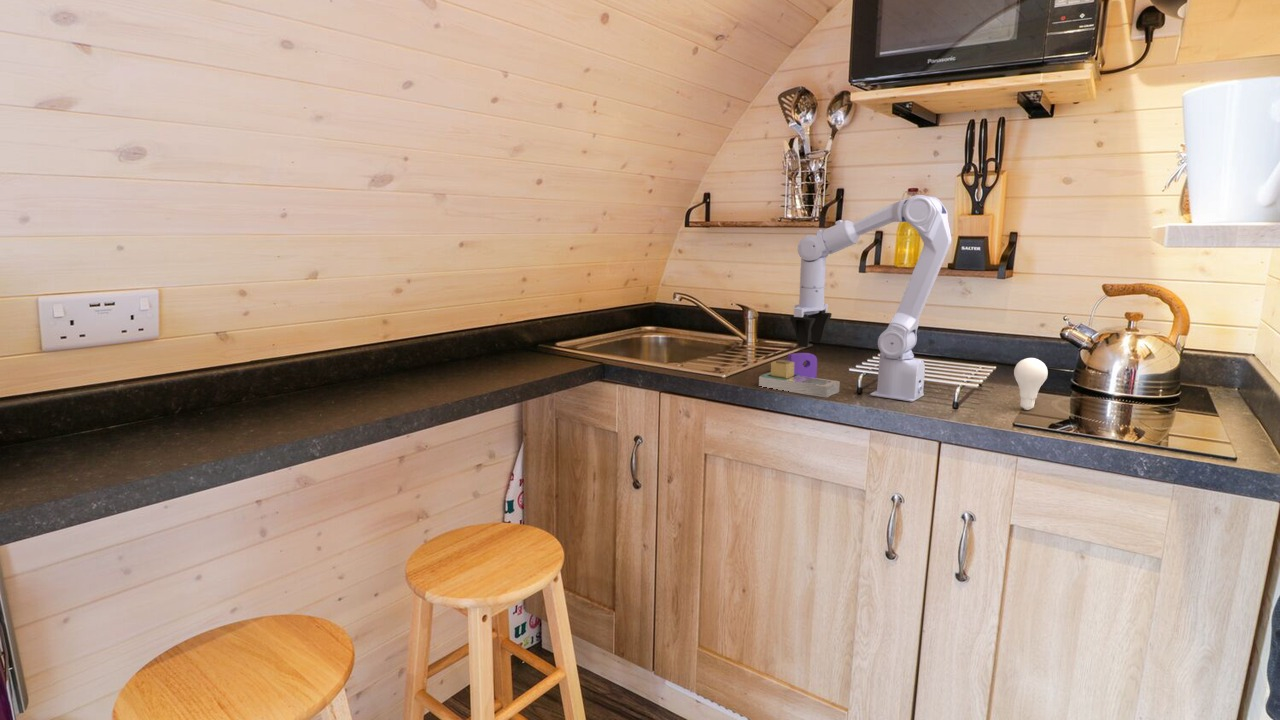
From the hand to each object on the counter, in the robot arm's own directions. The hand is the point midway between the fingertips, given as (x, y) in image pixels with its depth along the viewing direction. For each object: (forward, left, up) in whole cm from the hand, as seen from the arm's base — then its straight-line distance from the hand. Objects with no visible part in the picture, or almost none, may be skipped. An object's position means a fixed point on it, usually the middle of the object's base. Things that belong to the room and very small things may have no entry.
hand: (809, 344), depth 170 cm
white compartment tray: (-1, +6, -10) cm, 12 cm away
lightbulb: (-46, -7, -10) cm, 48 cm away
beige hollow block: (+4, +6, -10) cm, 12 cm away
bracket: (+8, -7, -10) cm, 15 cm away
